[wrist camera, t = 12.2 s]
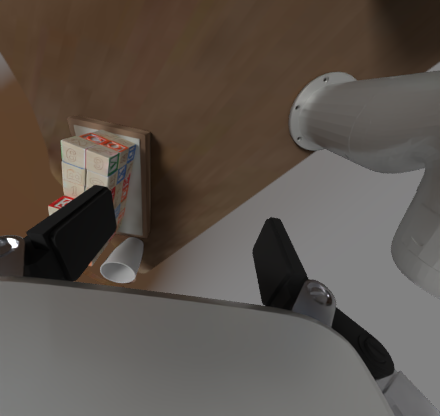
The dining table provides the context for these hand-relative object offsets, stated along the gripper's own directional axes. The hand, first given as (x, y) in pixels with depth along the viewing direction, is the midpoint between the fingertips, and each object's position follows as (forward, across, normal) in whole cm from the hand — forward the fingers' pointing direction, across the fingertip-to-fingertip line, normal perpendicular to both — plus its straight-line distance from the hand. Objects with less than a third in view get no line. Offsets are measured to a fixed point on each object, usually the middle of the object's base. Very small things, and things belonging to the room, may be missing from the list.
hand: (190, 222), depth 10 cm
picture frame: (+27, +18, +15) cm, 36 cm away
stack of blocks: (+24, +18, +13) cm, 33 cm away
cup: (+28, +17, +34) cm, 47 cm away
